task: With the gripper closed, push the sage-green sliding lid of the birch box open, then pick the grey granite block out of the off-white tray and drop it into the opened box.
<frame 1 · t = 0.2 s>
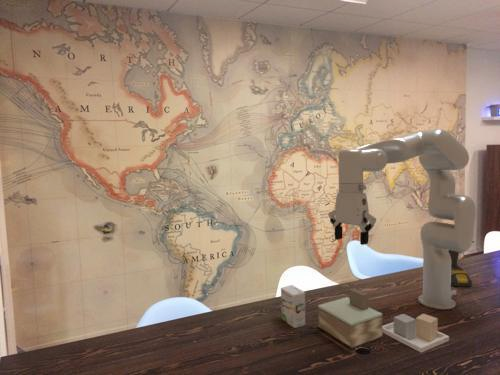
hand: (351, 241, 113), 30 cm above the table, tool pointing down, fingers open, 9 cm apart
power drill: (458, 284, 155), on the table
ink box: (293, 322, 124), on the table
white tray: (413, 337, 111), on the table
sage lid: (349, 302, 114), point 10 cm above the table, slide at 0.0 cm
birch box: (349, 332, 115), on the table
granite block: (404, 336, 111), point 1 cm above the table, touching white tray
sandstone block: (426, 336, 110), point 1 cm above the table, touching white tray
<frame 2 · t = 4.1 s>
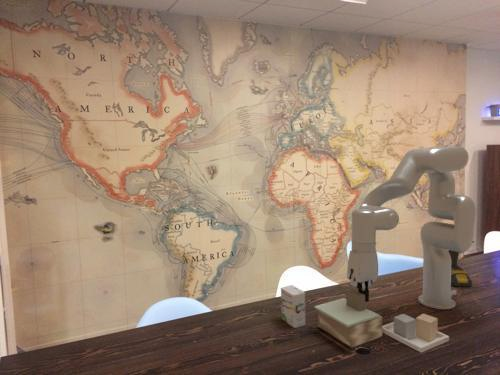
hand: (363, 300, 117), 10 cm above the table, tool pointing down, fingers closed
sage lid: (345, 303, 114), point 10 cm above the table, slide at 1.5 cm, touching gripper
everything else where it was.
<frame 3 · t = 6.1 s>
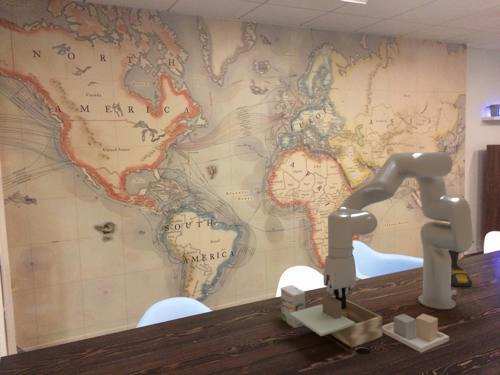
hand: (340, 307, 113), 9 cm above the table, tool pointing down, fingers closed
sage lid: (321, 310, 109), point 10 cm above the table, slide at 11.5 cm, touching gripper
everything else where it was.
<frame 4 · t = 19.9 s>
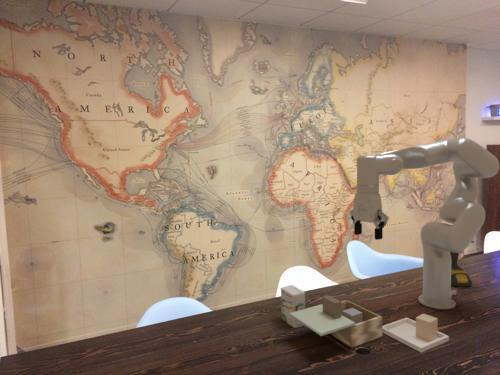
hand: (368, 236, 128), 28 cm above the table, tool pointing down, fingers open, 9 cm apart
sage lid: (321, 310, 109), point 10 cm above the table, slide at 11.5 cm
granite block: (352, 329, 116), point 1 cm above the table, touching birch box
everything else where it was.
at the end: sage lid slide at 11.5 cm; granite block inside the target area on the birch box (1.5 cm from its centre), point 0.8 cm above the birch box's base; sandstone block moved 0.1 cm from its start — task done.
